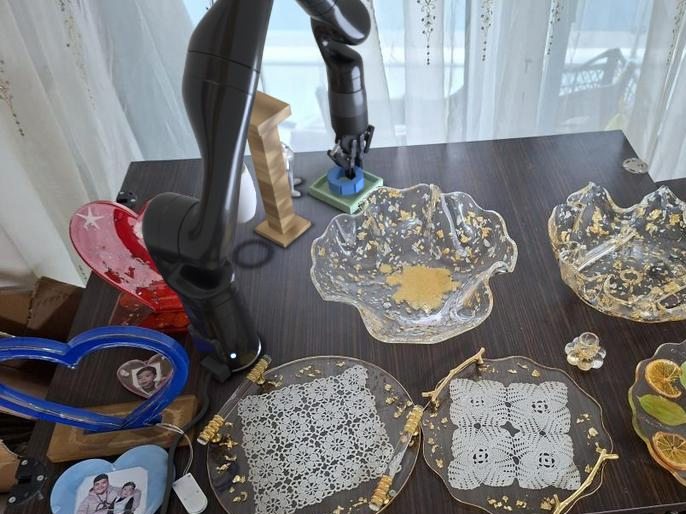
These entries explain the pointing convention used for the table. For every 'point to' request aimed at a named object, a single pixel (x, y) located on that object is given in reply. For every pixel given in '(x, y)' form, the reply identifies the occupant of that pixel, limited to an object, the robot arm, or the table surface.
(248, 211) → the cup
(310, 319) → the table surface
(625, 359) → the table surface
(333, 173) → the ring
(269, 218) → the platform
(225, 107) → the robot arm
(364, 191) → the tray
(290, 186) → the figurine
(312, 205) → the table surface
